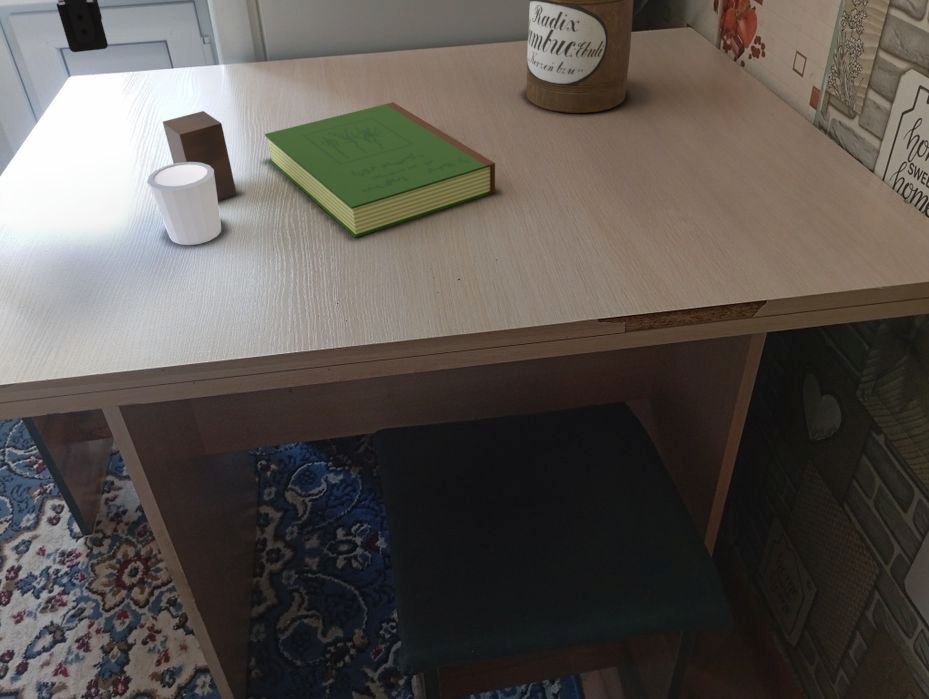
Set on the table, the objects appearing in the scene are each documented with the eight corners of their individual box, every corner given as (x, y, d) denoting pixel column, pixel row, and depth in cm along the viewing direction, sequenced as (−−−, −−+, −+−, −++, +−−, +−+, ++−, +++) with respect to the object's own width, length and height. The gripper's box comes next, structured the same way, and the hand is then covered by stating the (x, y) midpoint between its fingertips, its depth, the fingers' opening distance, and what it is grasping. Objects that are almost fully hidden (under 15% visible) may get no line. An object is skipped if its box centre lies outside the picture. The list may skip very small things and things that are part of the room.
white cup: (206, 211, 92) (192, 155, 87) (239, 231, 88) (226, 173, 83) (152, 233, 88) (135, 175, 84) (183, 254, 84) (167, 195, 80)
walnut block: (197, 207, 92) (179, 134, 87) (181, 193, 96) (162, 121, 90) (237, 195, 95) (221, 123, 89) (219, 181, 98) (203, 110, 92)
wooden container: (506, 99, 118) (508, -64, 105) (563, 72, 127) (571, -81, 114) (589, 122, 111) (603, -50, 97) (643, 92, 119) (663, -69, 106)
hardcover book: (494, 192, 94) (495, 163, 92) (355, 237, 86) (351, 206, 84) (392, 126, 111) (390, 100, 108) (267, 159, 103) (262, 132, 100)
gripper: (-20, -189, 69) (44, 16, 79) (-34, -175, 56) (44, 67, 67) (72, -191, 71) (122, 9, 82) (79, -178, 59) (137, 56, 69)
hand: (87, 35), depth 74 cm, fingers open, 9 cm apart
